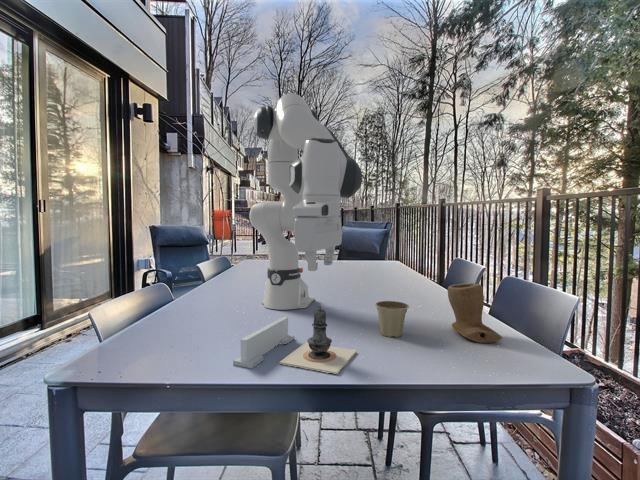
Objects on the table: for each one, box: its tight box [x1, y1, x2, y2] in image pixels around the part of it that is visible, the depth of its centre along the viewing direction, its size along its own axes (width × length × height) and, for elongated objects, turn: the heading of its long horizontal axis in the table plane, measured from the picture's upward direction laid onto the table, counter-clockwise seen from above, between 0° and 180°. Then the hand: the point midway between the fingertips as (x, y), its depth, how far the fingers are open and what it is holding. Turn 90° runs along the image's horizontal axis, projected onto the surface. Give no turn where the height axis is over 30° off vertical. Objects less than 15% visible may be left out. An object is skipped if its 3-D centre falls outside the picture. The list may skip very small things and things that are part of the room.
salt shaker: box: [306, 305, 333, 360], centre depth 86 cm, size 6×6×12 cm
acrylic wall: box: [232, 316, 295, 370], centre depth 91 cm, size 21×5×6 cm, turn 157°
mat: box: [279, 341, 357, 375], centre depth 87 cm, size 14×14×1 cm
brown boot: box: [447, 282, 503, 344], centre depth 104 cm, size 15×12×15 cm
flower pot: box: [375, 300, 410, 338], centre depth 105 cm, size 9×9×9 cm
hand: (320, 267), depth 85 cm, fingers open, 8 cm apart
